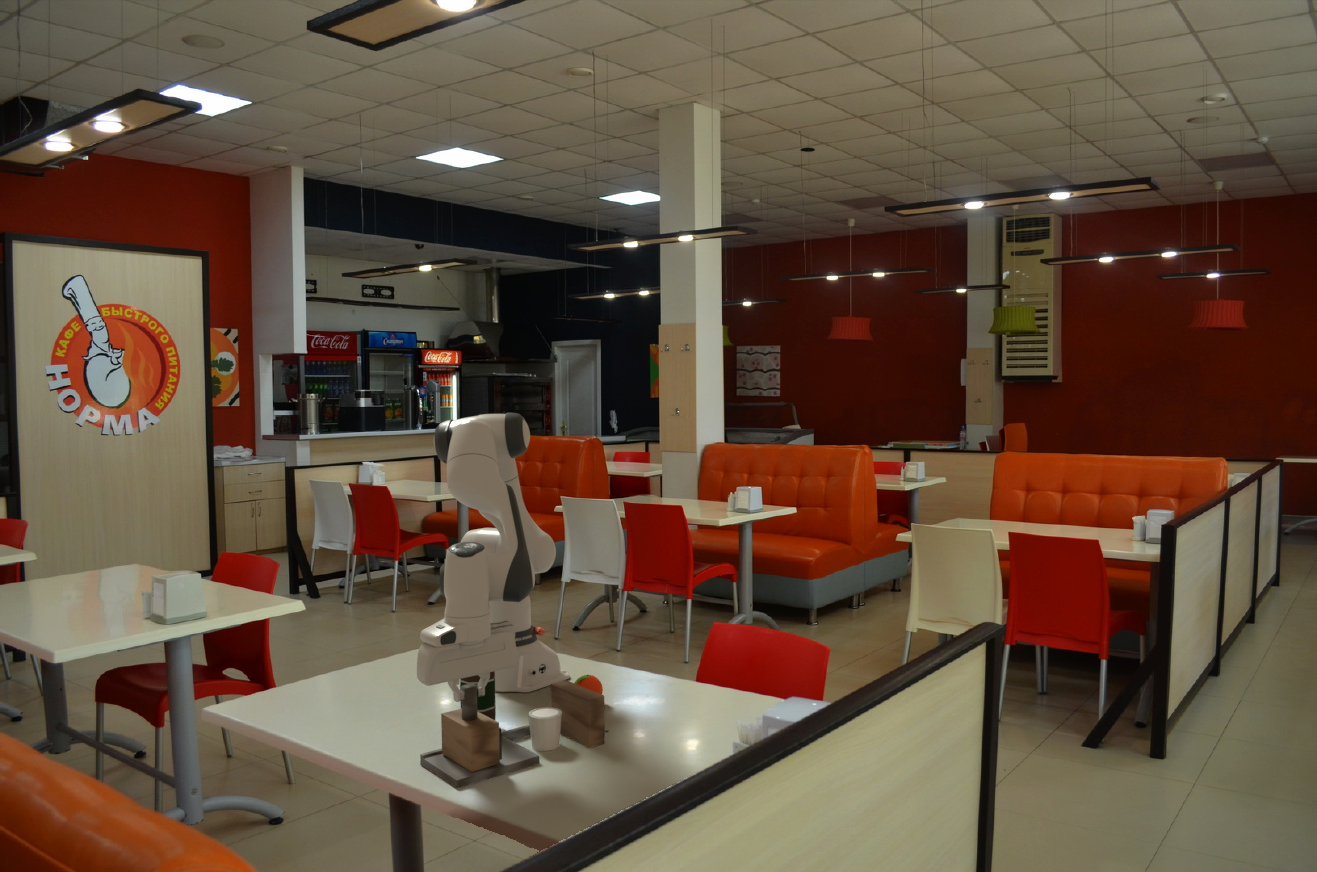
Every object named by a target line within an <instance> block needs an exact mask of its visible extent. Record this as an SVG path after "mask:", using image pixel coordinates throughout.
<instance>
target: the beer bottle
mask: <svg viewBox="0 0 1317 872" xmlns="http://www.w3.org/2000/svg"><path fill="white" fill-rule="evenodd" d="M480 678H481V677H479V676H478V675H475V676H471V677H467V678H462V679H459V685H460V686H459V690H461V686H463V685H467V684H475V685H478V683H479V680H480ZM460 709H462V702H461V701H460ZM477 712H479V713H481V714H483V715H485V716H487V717H489V718H491V719H493V720H495V721H496V717H497V715H496V691H495V671H493V672H490V679H489V681H488V683H487V685H486V687H485V695H484V696H480V697H477Z"/></svg>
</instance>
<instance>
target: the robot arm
mask: <svg viewBox="0 0 1317 872" xmlns="http://www.w3.org/2000/svg"><path fill="white" fill-rule="evenodd" d="M530 441H531V432H530V428H529V425H528V423H527V421H526V419H525V417H523V416H522V415H521V414H520V413H517V412H516V413H515V412H506V413H484V414H478V415H473V416H467V417H461V418H458V419H448V420H445V421H442V422H441V423H439V424H438V426H437V427H436V428H435V430H434V435H433V448H434V452H435V453H436V456H437V458H438V460H440V462H442V463H443V464H446V483H447V488H448V491H449V492H450V494H451V496H452V497H453V499H455V500H456V501H457V502H459V503H460V504H462V505H464V506H465V507H468V508H471V509H474V510H476V511H478V512H479V514H480V515H481V516H482V517H483V518H485V519H486V520H487V521H488V522H490V523H491V524H492V525H493V526H494V527H483V528H482V527H481V528H477V529H471V530H468V531H467V532H466V533H465V534H464V535H463V536H462V539H461V540H460V542H458V543H454V544H452V545H451V546H449V547H448V548H447V550H446V554H445V560H444V561H445V562H444V563H443V564H442V565H441V566H440V568H439V589H440V590H439V592H440V594H441V595H442V596H443V597H444V598H445V609H444V617H443V618H442V619H440V620H438V621H437V622H434V623H433V624H432V625H429V626H427V627H426V628H424V629H422V630H421V631H420V633H419V635H420V636H419V638H420V640H421V641H422V642H423V643H421V645H420V647H419V649H418V652H417V659H416V660H417V661H416V679H417V680H418V682H420V683H421V684H423V685H425V686H428V687H430V686H434V685H439V684H443V683H444V684H445V683H447V685H448V686H449V688H450V690H451V691H452V692H453V701H455V702H456V703H459V702H461V701H463V700H464V699H465V697H464V695H465V692H464V691H462V690H460V688H459V687H458V685H460V679H462V678H467V677H471V676H475V675H478V676H479V677H481V678H480V680H479V683H478V685H477V697H480V696H484V695H485V687H486V685H487V683H488V681H489V679H490V672H493V671H495V692H501V693H504V692H509V693H510V692H515V693H516V692H517V693H531V692H534V691H537V690H540V689H542V688H545V687H549V686H551V684H553V683H557V682H561V681H565V680H568V679H570V673H569V672H568V671H567V670H566V669H565V668H562V667H561V663H560V658H559V655H558V654H557V652H556V651H554V650H553V649H552V648H550V646H548V645H546V644H545V643H543V642H542V641H540V640H539V639H538V636H540V637H542V636H545V632H546V629H545V628H544V627H540V626H537V627H535V626H533V625H531V624H532V622H531V621H532V618H531V615H532V614H531V607H532V606H531V597H530V594H531V593H532V592H533V591H534V588H535V583H536V582H535V581H536V574H542V573H543V574H544V573H546V572H548V571H549V570H550V569H551V568H552V566H553V564H554V562H555V560H556V556H557V548H556V545H555V542H554V540H553V538H552V537H551V536H550V534H548V533H547V532H546V531H544V530H542V528H540V527H539V526H538V524H536V521H534V519H533V517H531V514H530V513H529V512H528V510H527V508H526V505H525V502H524V498H523V494H522V490H521V489H522V488H521V485H520V478H519V473H518V472H519V471H518V467H517V462H516V458H518V457H521V456H523V455H524V454H525V453H526V452H527V451H528V449H529V444H530Z"/></svg>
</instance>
